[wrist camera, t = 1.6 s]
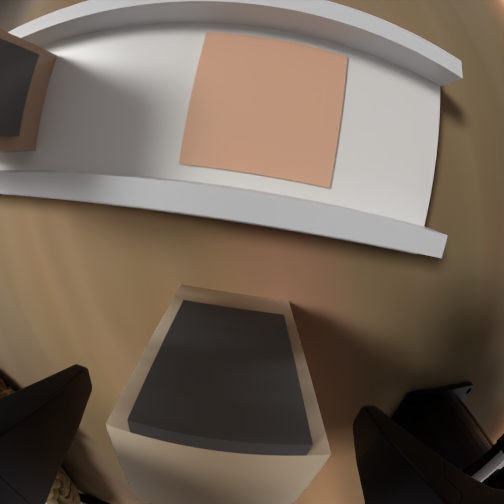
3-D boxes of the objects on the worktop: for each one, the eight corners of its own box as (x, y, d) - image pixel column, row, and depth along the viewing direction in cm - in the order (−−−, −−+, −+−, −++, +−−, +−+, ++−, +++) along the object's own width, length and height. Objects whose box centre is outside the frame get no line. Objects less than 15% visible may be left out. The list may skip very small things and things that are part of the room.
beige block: (290, 291, 11) (338, 443, 4) (268, 380, 12) (279, 517, 5) (182, 275, 10) (101, 411, 4) (177, 367, 12) (136, 499, 5)
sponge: (-24, 330, 13) (-8, 449, 14) (-71, 371, 6) (-24, 488, 6) (99, 401, 17) (81, 494, 18) (83, 473, 10) (77, 540, 10)
